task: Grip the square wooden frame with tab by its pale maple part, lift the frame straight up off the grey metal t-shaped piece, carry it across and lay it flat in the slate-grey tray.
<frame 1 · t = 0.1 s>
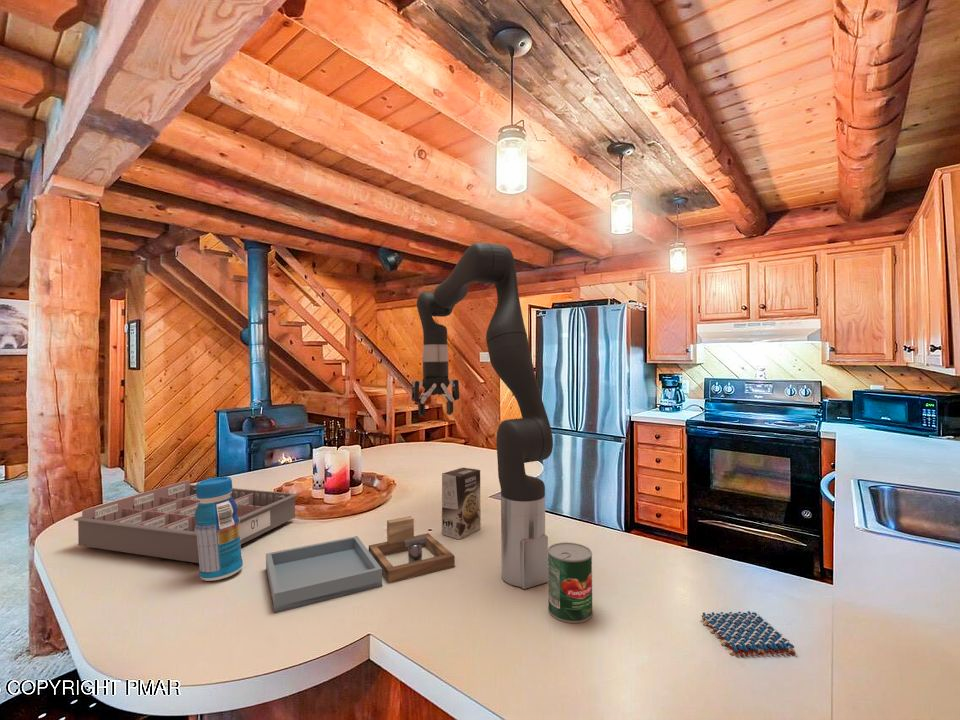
hand: (436, 415, 136), 29 cm above the countertop, tool pointing down, fingers open, 8 cm apart
grey metal t-shaped piece: (415, 566, 103), on the countertop
woven mat: (744, 640, 76), on the countertop
coffee box: (461, 532, 123), on the countertop
tray: (321, 577, 98), on the countertop
canned tomato: (570, 612, 84), on the countertop
wooden frame with tab: (410, 561, 105), on the countertop
beverage bottle: (221, 573, 100), on the countertop
organizer tray: (195, 536, 122), on the countertop
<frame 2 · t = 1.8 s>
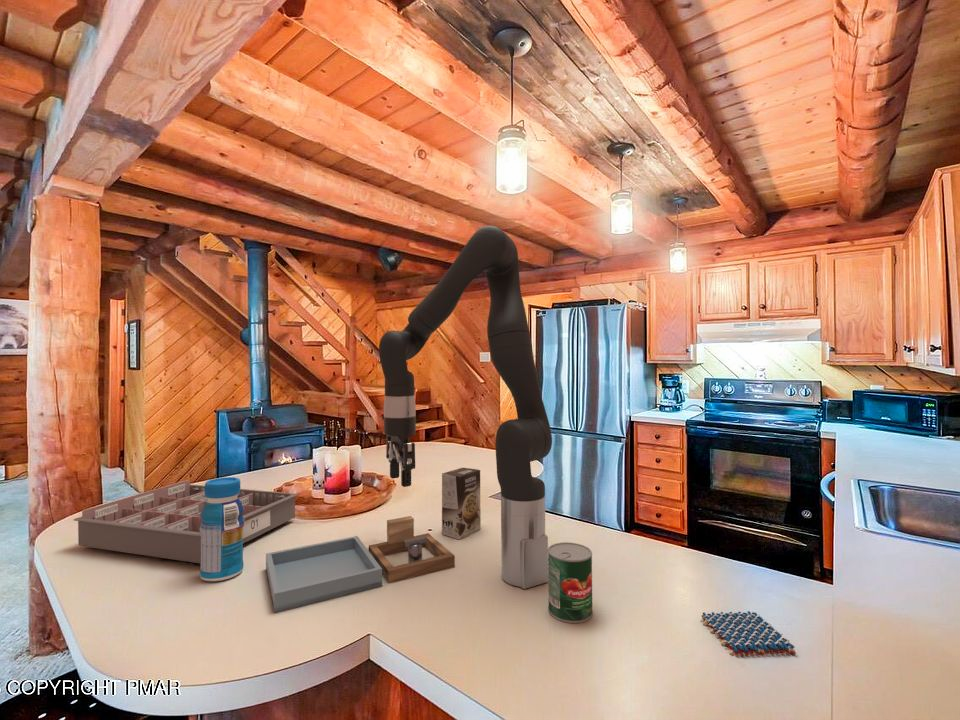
hand: (400, 481, 111), 16 cm above the countertop, tool pointing down, fingers open, 8 cm apart
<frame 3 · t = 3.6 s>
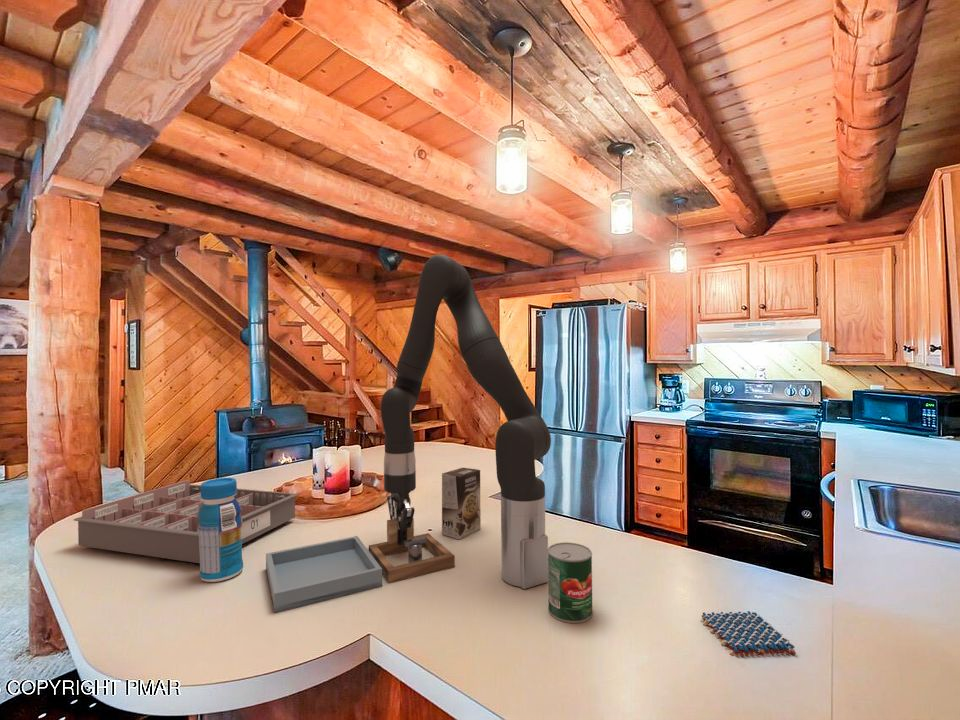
hand: (400, 541, 111), 2 cm above the countertop, tool pointing down, fingers closed on wooden frame with tab
wooden frame with tab: (410, 561, 105), on the countertop, touching gripper
everything else where it was.
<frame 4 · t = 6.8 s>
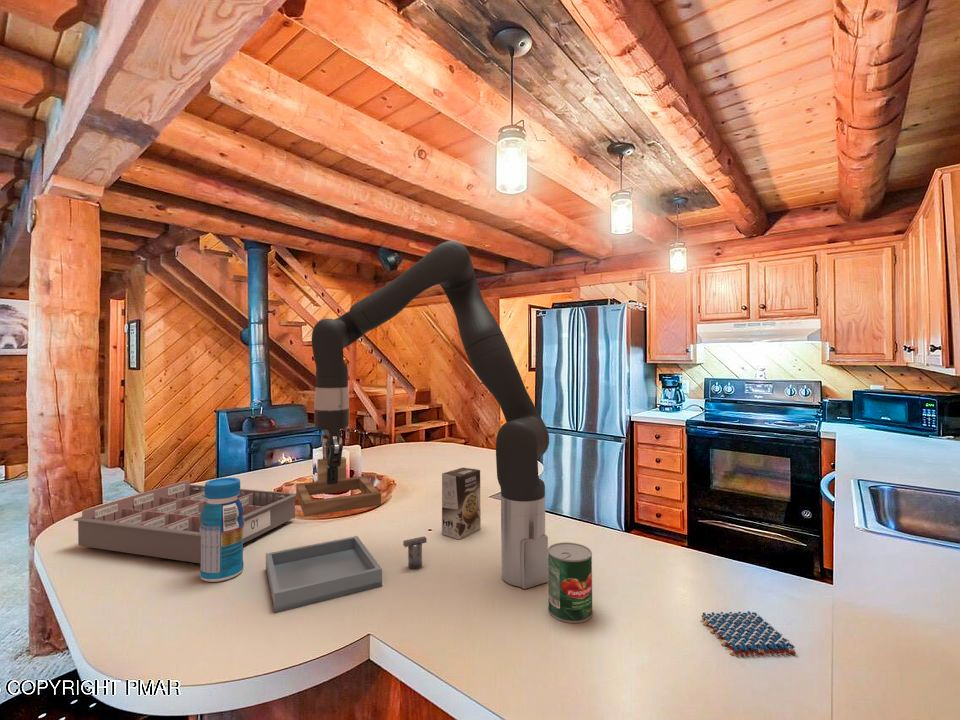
hand: (331, 482, 106), 18 cm above the countertop, tool pointing down, fingers closed on wooden frame with tab
wooden frame with tab: (337, 500, 100), point 16 cm above the countertop, touching gripper
everything else where it was.
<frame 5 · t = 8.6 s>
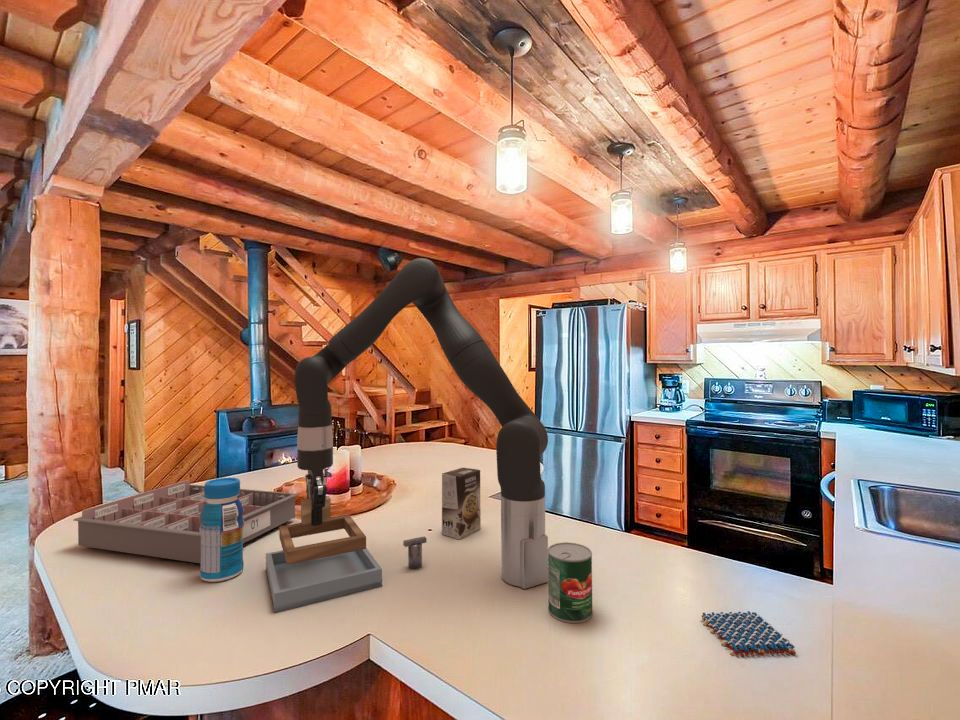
hand: (315, 522, 104), 9 cm above the countertop, tool pointing down, fingers closed on wooden frame with tab
wooden frame with tab: (321, 543, 98), point 7 cm above the countertop, touching gripper
everything else where it was.
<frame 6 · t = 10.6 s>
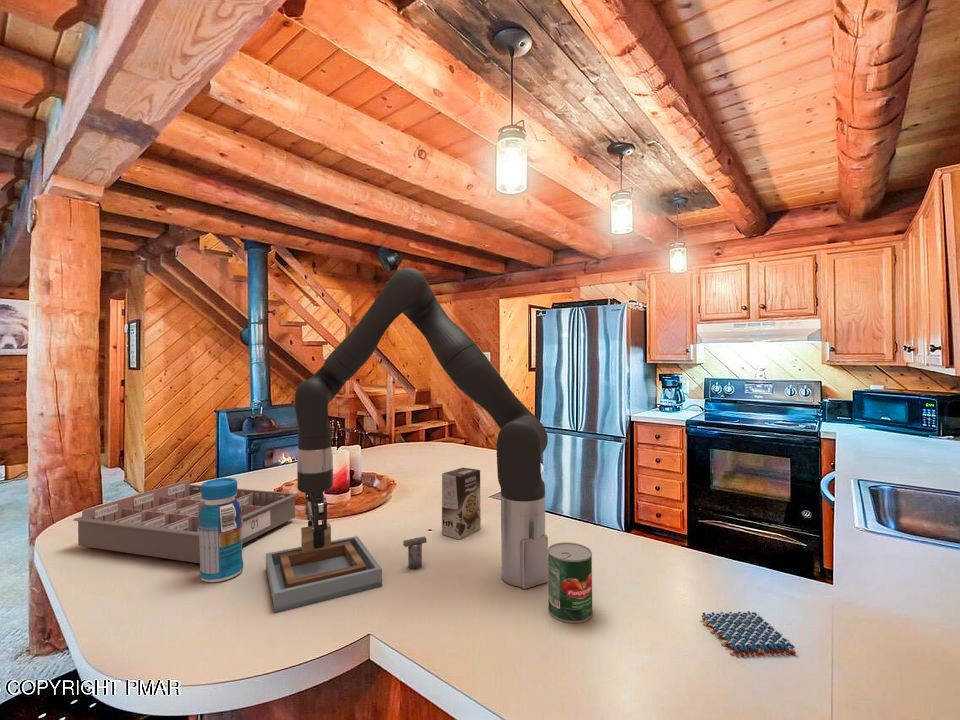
hand: (316, 541, 104), 5 cm above the countertop, tool pointing down, fingers open, 6 cm apart
wooden frame with tab: (321, 572, 98), point 1 cm above the countertop, touching tray
everything else where it was.
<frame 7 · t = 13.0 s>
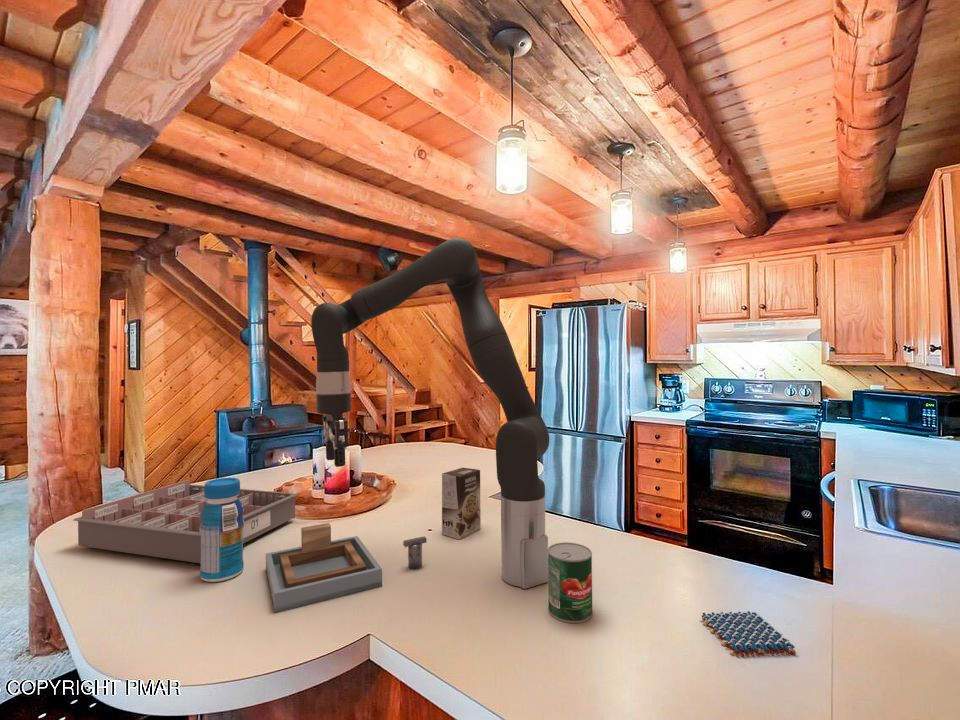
hand: (335, 462, 106), 22 cm above the countertop, tool pointing down, fingers open, 8 cm apart
nothing on the countertop moved.
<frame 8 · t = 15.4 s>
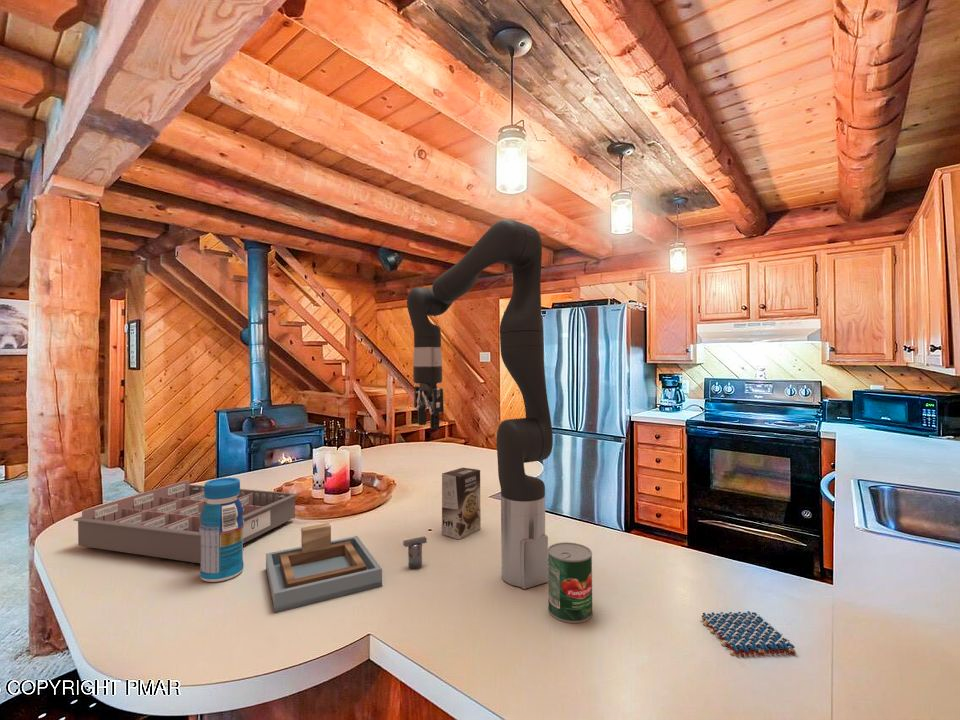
hand: (428, 426, 121), 28 cm above the countertop, tool pointing down, fingers open, 8 cm apart
nothing on the countertop moved.
at the end: wooden frame with tab inside the target area on the tray (0.2 cm from its centre), point 1.0 cm above the tray's base; wooden frame with tab tilted 0°; the gripper is holding nothing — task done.
